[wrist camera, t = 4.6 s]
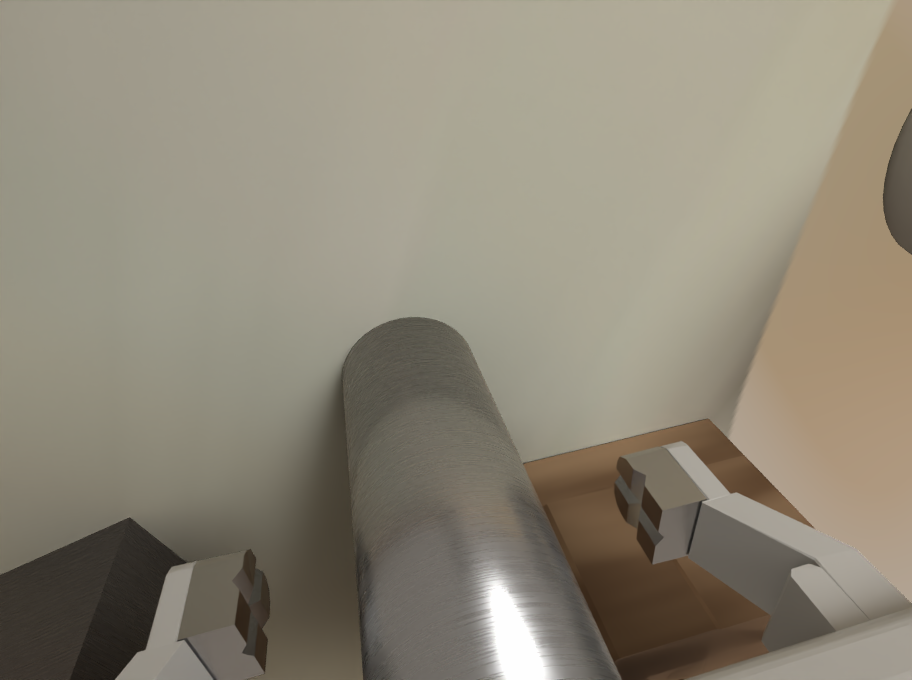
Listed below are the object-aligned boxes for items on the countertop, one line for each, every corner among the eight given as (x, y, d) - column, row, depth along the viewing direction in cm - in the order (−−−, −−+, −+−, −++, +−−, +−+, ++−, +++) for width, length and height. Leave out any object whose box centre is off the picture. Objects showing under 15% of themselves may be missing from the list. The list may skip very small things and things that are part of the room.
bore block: (401, 491, 18) (441, 712, 12) (708, 416, 20) (870, 582, 14) (434, 639, 24) (472, 839, 18) (672, 571, 25) (776, 734, 20)
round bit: (328, 332, 14) (349, 887, 5) (468, 305, 15) (706, 763, 6) (357, 437, 16) (406, 956, 7) (477, 410, 17) (661, 862, 8)
